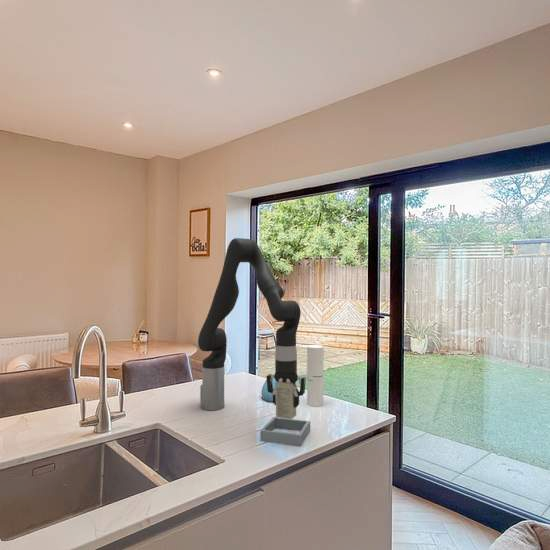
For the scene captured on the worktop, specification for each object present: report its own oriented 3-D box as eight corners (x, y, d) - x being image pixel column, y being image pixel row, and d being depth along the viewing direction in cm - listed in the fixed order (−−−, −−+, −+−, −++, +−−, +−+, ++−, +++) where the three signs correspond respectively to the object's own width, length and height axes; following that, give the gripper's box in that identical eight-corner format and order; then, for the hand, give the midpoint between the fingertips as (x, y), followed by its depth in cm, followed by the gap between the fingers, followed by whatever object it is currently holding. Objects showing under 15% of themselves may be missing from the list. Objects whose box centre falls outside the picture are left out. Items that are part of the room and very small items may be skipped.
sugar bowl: (255, 400, 183) (255, 374, 183) (269, 392, 197) (269, 368, 197) (287, 405, 177) (287, 378, 177) (298, 395, 191) (298, 370, 191)
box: (260, 440, 139) (260, 430, 139) (273, 426, 152) (273, 416, 152) (300, 446, 134) (300, 435, 134) (310, 430, 148) (310, 421, 148)
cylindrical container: (322, 406, 175) (322, 348, 175) (306, 405, 176) (306, 347, 176) (324, 401, 182) (324, 345, 182) (308, 400, 183) (308, 344, 183)
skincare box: (296, 415, 144) (296, 380, 144) (292, 419, 140) (292, 383, 140) (280, 413, 147) (280, 378, 147) (274, 417, 143) (274, 381, 143)
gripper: (263, 358, 142) (263, 407, 142) (303, 361, 138) (303, 411, 138) (269, 354, 149) (269, 400, 149) (308, 357, 145) (308, 404, 145)
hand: (286, 405), depth 143 cm, fingers closed on skincare box, 6 cm apart
